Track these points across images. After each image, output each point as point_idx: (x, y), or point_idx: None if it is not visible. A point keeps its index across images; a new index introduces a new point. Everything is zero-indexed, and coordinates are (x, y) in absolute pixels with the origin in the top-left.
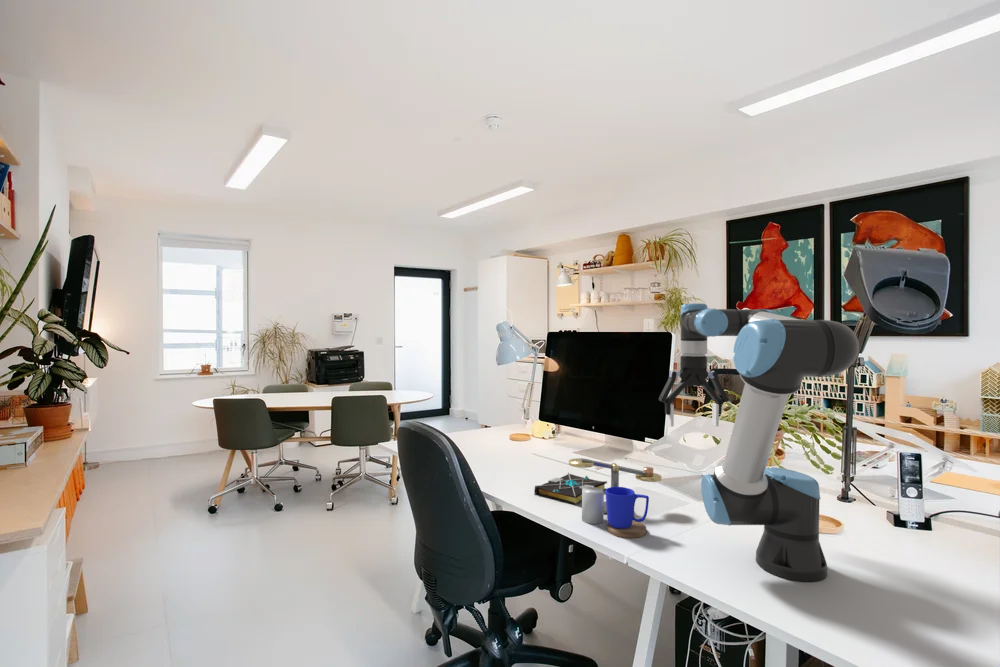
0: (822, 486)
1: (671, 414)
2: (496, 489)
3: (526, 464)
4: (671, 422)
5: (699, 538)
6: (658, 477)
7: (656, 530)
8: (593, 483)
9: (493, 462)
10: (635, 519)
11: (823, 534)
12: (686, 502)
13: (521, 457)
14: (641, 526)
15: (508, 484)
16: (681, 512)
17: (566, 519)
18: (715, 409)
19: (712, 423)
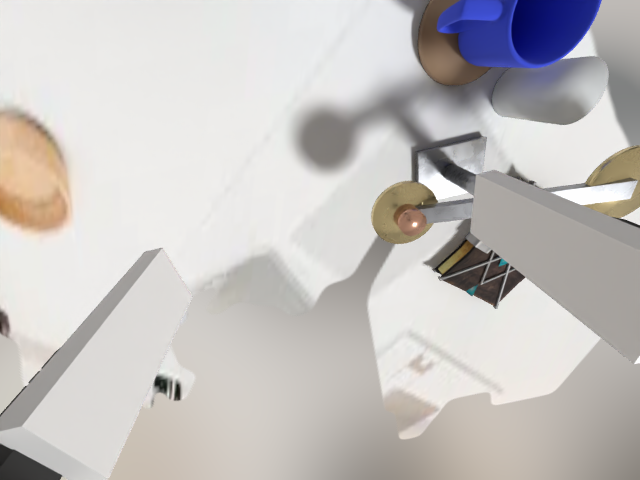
0: None
1: (578, 204)
2: None
3: (529, 350)
4: (513, 180)
5: (300, 7)
6: (383, 204)
7: (391, 48)
8: (467, 266)
9: (579, 346)
10: (459, 22)
11: (4, 102)
12: (296, 238)
13: (526, 374)
14: (431, 36)
15: None
16: (315, 180)
17: None
18: (90, 367)
19: (187, 297)
